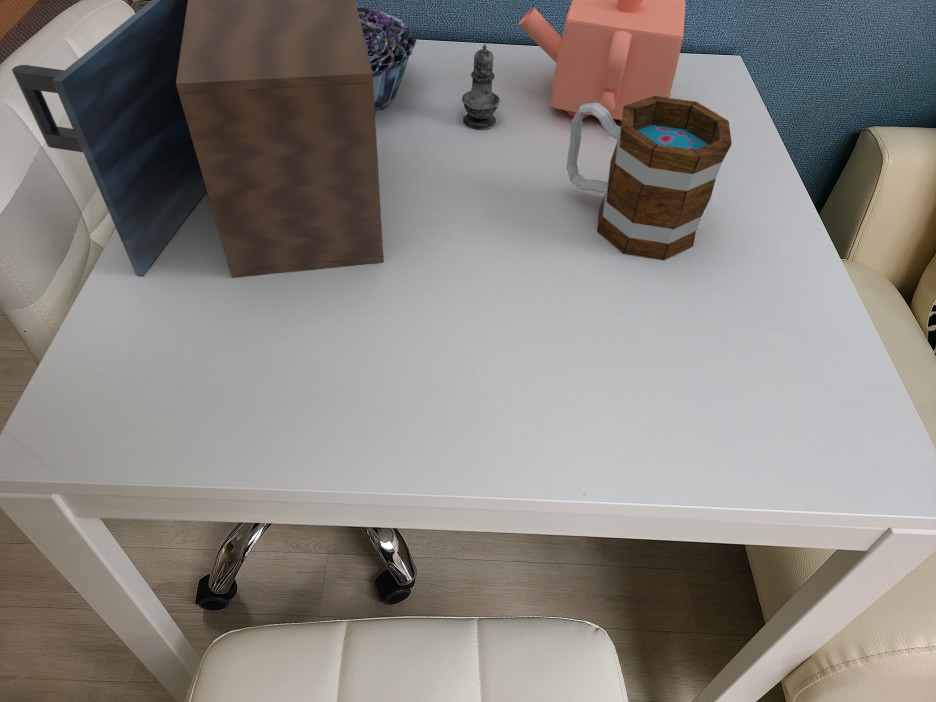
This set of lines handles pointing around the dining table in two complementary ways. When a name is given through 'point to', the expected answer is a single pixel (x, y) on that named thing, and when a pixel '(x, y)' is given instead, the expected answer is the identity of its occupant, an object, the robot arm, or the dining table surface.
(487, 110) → the salt shaker
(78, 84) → the cupboard door
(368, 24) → the decorative bowl
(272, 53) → the cupboard
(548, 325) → the dining table surface
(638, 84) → the teapot
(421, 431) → the dining table surface
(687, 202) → the mug
